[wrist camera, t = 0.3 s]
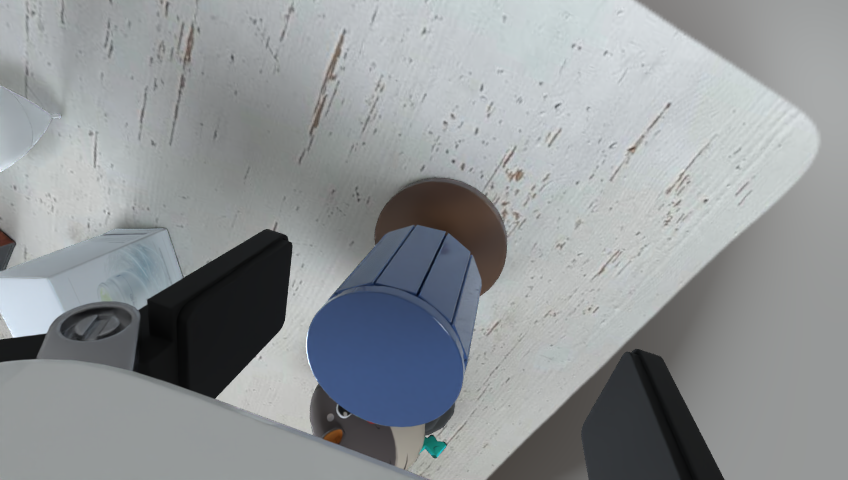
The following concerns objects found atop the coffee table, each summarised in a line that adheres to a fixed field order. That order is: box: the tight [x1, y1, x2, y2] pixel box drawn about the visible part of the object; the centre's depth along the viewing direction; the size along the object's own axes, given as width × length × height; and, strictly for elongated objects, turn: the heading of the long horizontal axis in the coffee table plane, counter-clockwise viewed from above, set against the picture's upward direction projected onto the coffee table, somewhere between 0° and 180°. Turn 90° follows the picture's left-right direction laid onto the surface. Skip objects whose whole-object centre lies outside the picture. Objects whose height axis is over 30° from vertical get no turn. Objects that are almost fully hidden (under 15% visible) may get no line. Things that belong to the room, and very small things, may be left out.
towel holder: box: [374, 178, 507, 296], centre depth 24 cm, size 10×10×14 cm
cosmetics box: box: [0, 228, 183, 338], centre depth 34 cm, size 10×6×10 cm, turn 5°
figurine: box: [310, 384, 455, 471], centre depth 31 cm, size 11×12×12 cm
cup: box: [306, 225, 482, 427], centre depth 21 cm, size 7×7×8 cm
